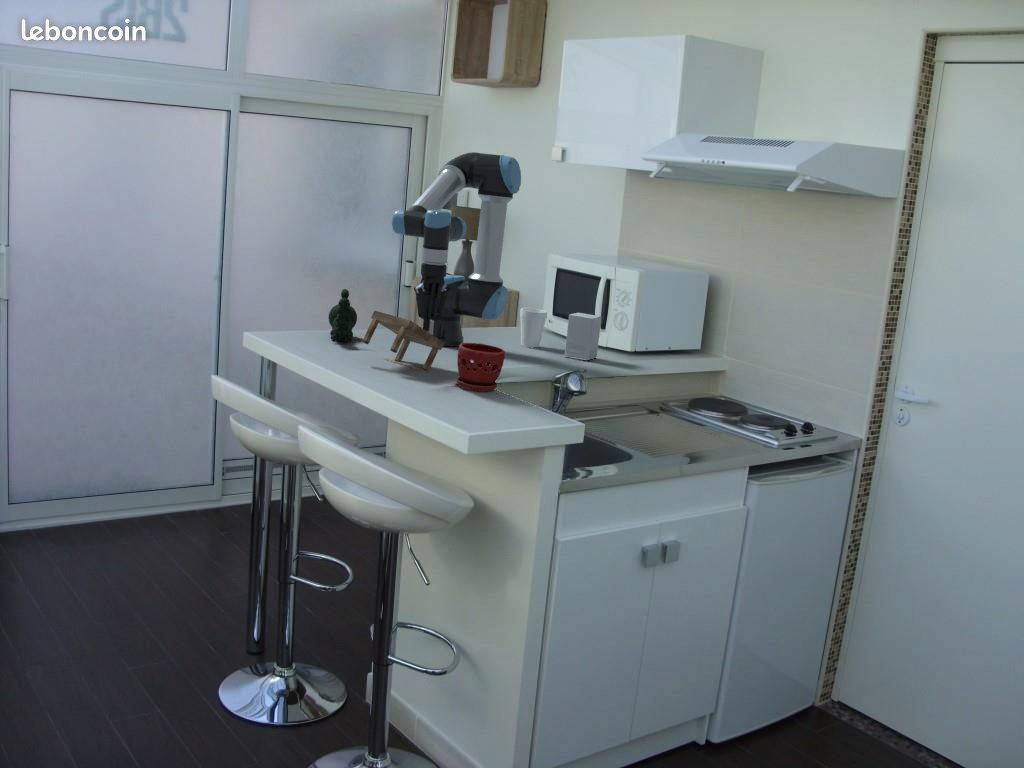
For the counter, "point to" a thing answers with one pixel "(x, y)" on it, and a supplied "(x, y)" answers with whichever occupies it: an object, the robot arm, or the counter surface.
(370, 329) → the footstool
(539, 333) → the foam cup
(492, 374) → the plant pot
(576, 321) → the supplement box
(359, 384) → the counter surface
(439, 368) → the counter surface
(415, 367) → the oak batten
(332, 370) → the counter surface
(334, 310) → the toy figurine
